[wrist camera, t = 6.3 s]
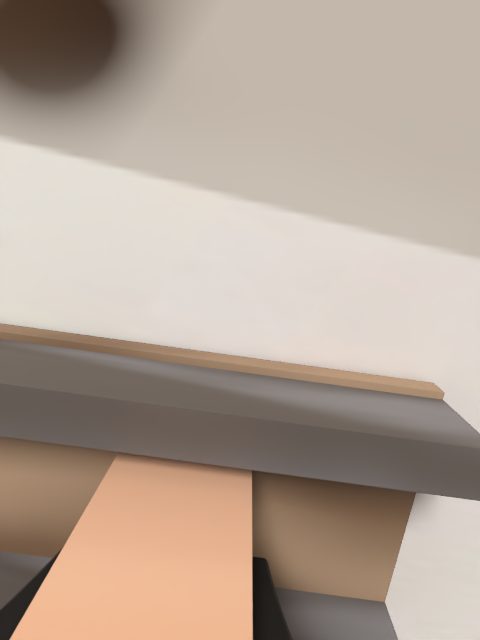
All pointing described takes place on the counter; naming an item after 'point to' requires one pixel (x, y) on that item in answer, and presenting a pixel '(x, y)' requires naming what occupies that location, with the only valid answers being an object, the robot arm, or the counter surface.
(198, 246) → the counter surface
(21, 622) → the block
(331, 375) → the rack
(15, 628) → the robot arm
